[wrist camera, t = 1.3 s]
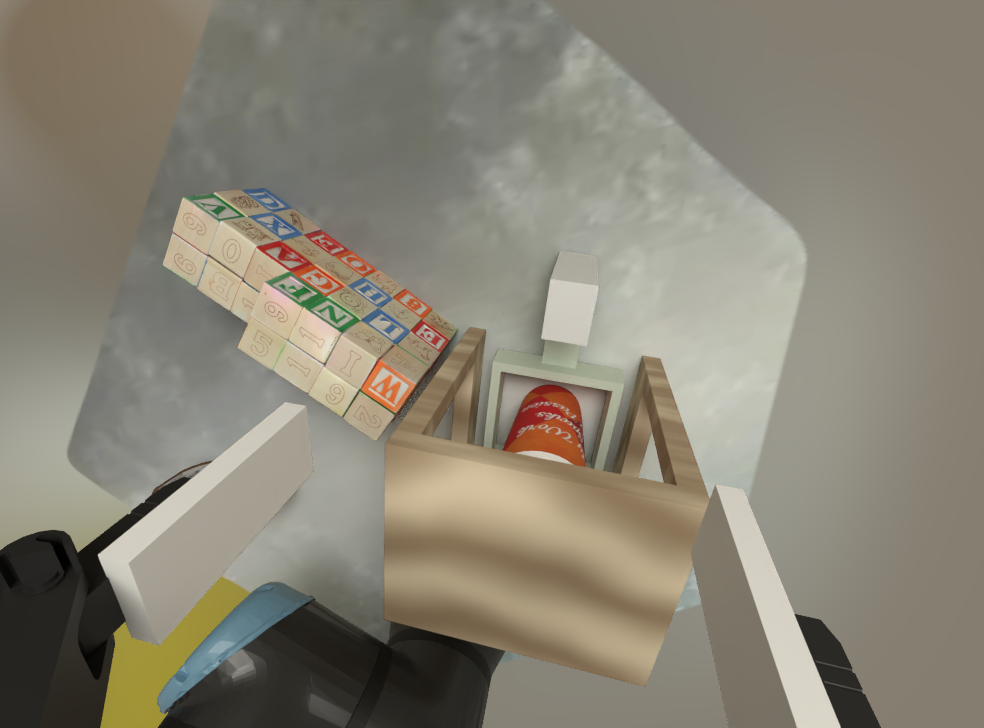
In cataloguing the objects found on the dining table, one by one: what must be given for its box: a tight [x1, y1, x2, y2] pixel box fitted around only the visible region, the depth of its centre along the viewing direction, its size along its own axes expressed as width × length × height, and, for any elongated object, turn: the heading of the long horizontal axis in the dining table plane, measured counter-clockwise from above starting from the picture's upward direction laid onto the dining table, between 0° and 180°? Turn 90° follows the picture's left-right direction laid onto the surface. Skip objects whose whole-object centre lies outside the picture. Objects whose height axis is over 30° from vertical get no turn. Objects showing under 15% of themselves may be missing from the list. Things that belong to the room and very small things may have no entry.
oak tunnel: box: [384, 327, 710, 687], centre depth 36 cm, size 14×17×20 cm
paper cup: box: [502, 385, 586, 467], centre depth 38 cm, size 8×8×14 cm
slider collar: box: [483, 251, 625, 471], centre depth 37 cm, size 21×11×10 cm, turn 174°
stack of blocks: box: [163, 188, 458, 441], centre depth 38 cm, size 21×6×12 cm, turn 56°
